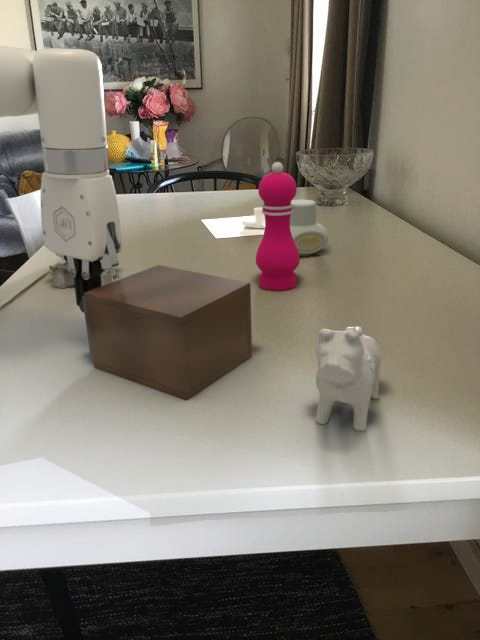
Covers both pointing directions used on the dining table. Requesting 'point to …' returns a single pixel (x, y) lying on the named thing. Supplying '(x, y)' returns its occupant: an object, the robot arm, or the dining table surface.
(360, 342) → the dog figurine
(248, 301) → the cabinet
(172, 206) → the dining table surface
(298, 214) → the air freshener
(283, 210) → the pepper mill
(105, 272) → the egg carton
